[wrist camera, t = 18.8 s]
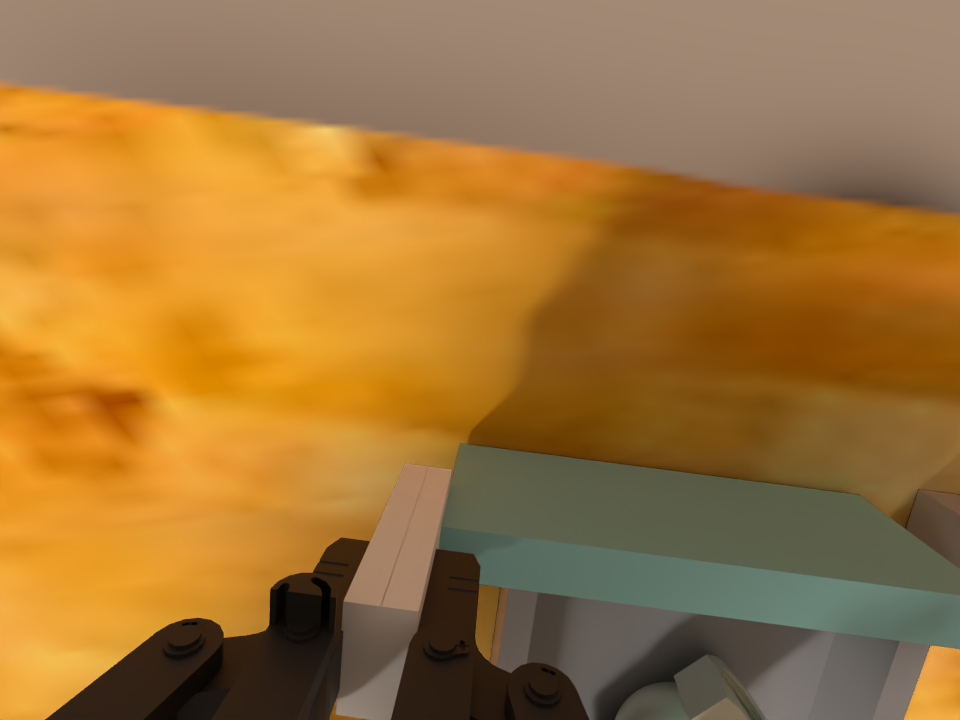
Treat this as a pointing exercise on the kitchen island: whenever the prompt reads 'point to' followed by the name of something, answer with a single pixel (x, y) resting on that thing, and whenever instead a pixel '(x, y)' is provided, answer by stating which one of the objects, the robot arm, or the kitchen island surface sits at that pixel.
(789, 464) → the kitchen island surface
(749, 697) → the valve
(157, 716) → the robot arm
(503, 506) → the gate
